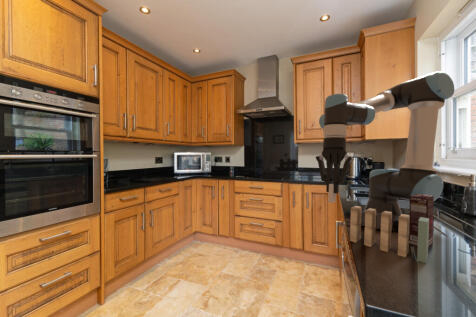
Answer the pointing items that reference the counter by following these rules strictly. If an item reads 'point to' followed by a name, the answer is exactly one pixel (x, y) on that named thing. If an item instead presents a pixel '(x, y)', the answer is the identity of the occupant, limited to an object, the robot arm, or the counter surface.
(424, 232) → the grey-green domino
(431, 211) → the supplement box
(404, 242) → the birch domino
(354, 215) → the birch domino
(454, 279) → the counter surface
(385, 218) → the birch domino
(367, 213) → the birch domino
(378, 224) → the perforated stone tool
